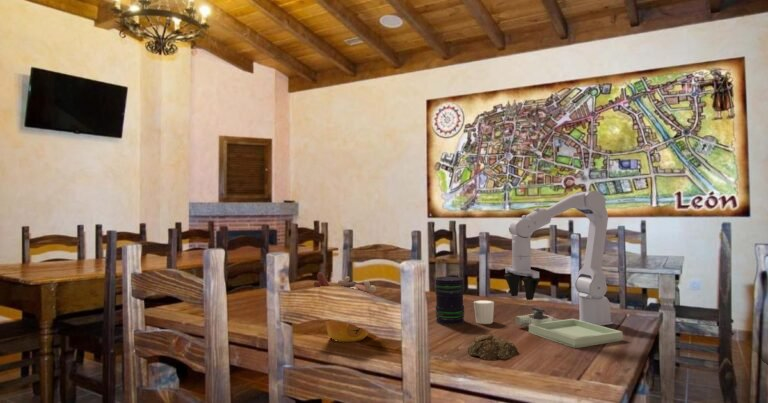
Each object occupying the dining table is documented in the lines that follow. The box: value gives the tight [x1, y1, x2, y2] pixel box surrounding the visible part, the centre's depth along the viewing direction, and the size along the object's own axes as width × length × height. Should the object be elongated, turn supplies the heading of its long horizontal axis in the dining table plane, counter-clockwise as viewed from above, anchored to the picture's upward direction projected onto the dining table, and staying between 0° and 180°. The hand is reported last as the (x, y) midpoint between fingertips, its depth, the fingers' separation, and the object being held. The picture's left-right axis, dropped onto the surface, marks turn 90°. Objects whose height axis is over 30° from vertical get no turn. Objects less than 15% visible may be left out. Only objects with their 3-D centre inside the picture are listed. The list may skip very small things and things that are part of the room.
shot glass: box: [473, 299, 495, 325], centre depth 163 cm, size 7×7×7 cm
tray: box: [528, 318, 624, 349], centre depth 142 cm, size 18×19×2 cm
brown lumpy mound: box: [467, 334, 519, 361], centre depth 128 cm, size 13×12×5 cm
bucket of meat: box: [313, 272, 377, 343], centre depth 146 cm, size 20×16×20 cm
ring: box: [514, 313, 554, 326], centre depth 156 cm, size 13×9×2 cm
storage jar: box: [434, 275, 465, 326], centre depth 164 cm, size 10×10×15 cm
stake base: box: [522, 306, 561, 328], centre depth 157 cm, size 13×11×6 cm
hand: (521, 297), depth 154 cm, fingers open, 7 cm apart
